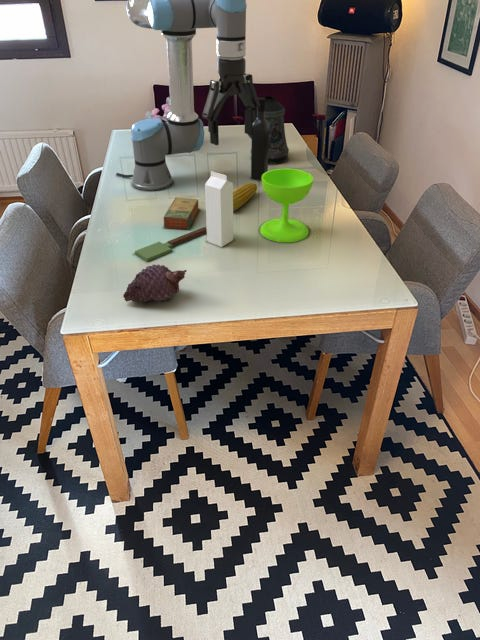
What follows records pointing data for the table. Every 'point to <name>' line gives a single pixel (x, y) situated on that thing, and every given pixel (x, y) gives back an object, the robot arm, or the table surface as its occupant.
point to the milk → (219, 209)
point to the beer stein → (275, 131)
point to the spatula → (166, 245)
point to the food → (243, 194)
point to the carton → (181, 213)
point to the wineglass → (285, 203)
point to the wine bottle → (260, 143)
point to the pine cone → (154, 284)
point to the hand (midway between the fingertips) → (232, 138)
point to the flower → (155, 111)
